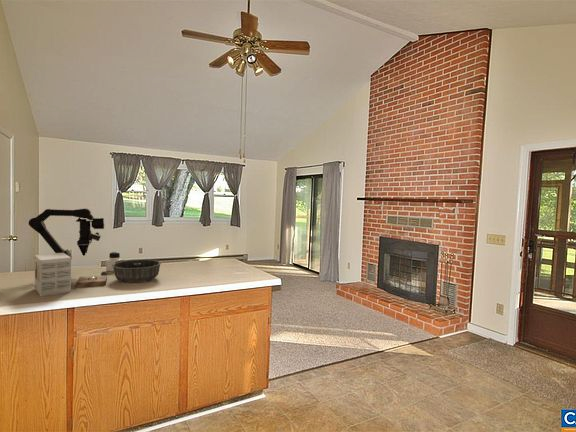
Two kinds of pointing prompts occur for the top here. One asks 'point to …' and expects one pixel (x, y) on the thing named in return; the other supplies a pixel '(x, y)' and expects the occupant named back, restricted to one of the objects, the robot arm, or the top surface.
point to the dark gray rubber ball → (103, 273)
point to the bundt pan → (136, 270)
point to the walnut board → (91, 281)
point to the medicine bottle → (112, 261)
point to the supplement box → (52, 273)
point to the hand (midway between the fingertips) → (84, 254)
